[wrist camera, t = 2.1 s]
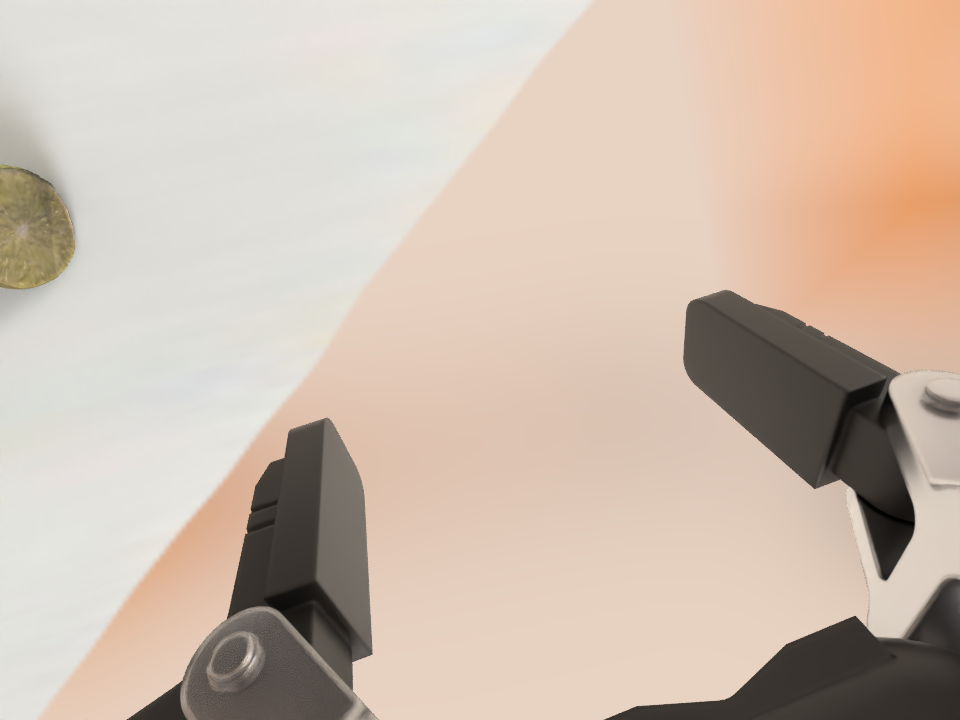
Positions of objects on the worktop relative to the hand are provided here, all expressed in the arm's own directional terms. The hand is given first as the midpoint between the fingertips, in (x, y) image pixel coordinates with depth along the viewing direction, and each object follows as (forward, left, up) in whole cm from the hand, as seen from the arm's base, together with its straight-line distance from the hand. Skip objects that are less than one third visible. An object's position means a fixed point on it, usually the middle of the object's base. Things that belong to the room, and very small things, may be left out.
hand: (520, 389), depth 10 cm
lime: (-10, -13, -19) cm, 26 cm away
